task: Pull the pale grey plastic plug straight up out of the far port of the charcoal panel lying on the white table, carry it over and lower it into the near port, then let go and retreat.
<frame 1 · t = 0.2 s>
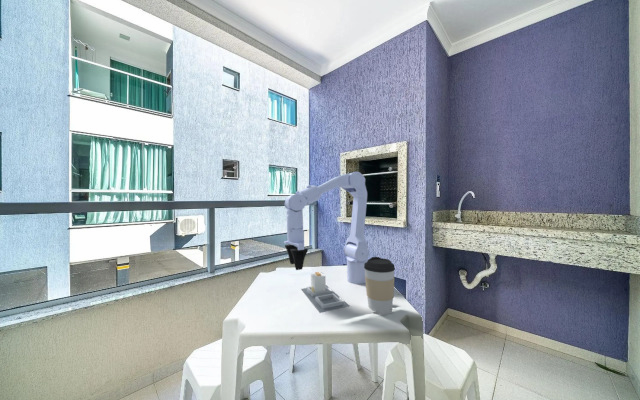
hand: (296, 266, 79), 10 cm above the table, tool pointing down, fingers open, 7 cm apart
panel: (323, 299, 74), on the table
plug: (318, 291, 78), point 1 cm above the table, touching panel
coffee cup: (380, 310, 66), on the table
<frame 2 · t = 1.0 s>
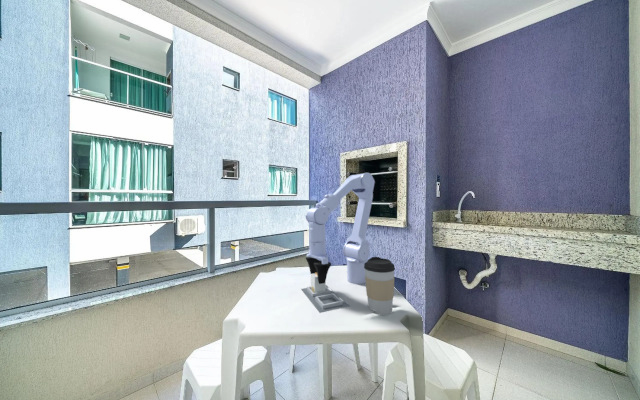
hand: (317, 279, 78), 5 cm above the table, tool pointing down, fingers open, 7 cm apart
nothing on the table moved.
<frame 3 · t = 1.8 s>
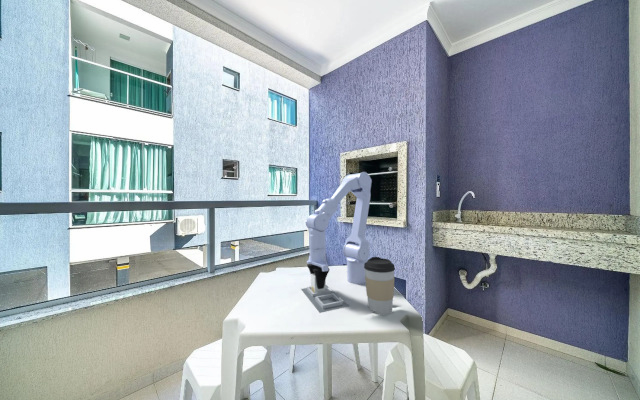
hand: (318, 286, 78), 3 cm above the table, tool pointing down, fingers closed on plug, 4 cm apart
plug: (318, 291, 78), point 1 cm above the table, touching gripper, panel
everything else where it was.
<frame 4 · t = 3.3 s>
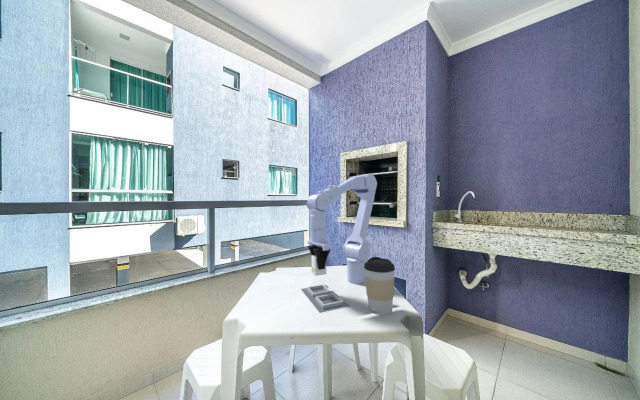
hand: (319, 267, 77), 10 cm above the table, tool pointing down, fingers closed on plug, 4 cm apart
plug: (318, 273, 77), point 8 cm above the table, touching gripper
everything else where it was.
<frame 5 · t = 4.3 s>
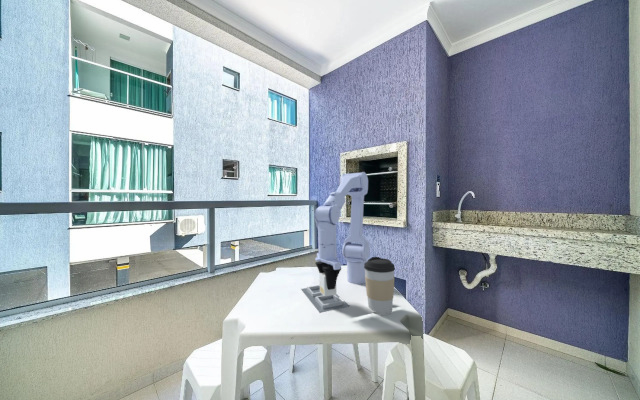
hand: (328, 286, 70), 6 cm above the table, tool pointing down, fingers closed on plug, 4 cm apart
plug: (328, 293, 70), point 4 cm above the table, touching gripper
everything else where it was.
when the fingers open (4 cm above the table, at t = 5.1 s): plug stays where it is, resting on panel.
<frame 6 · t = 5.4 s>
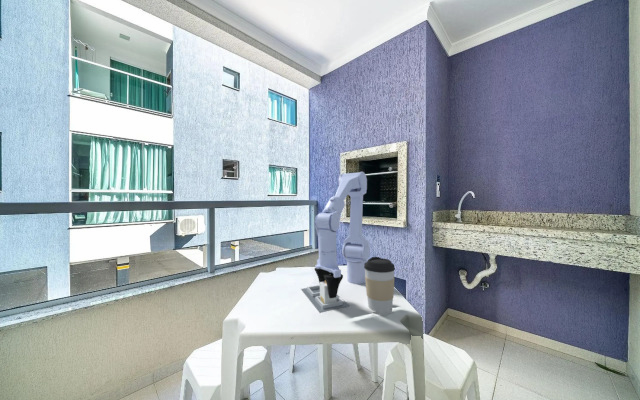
hand: (328, 293, 70), 4 cm above the table, tool pointing down, fingers open, 6 cm apart
plug: (328, 302, 70), point 1 cm above the table, touching panel
everything else where it was.
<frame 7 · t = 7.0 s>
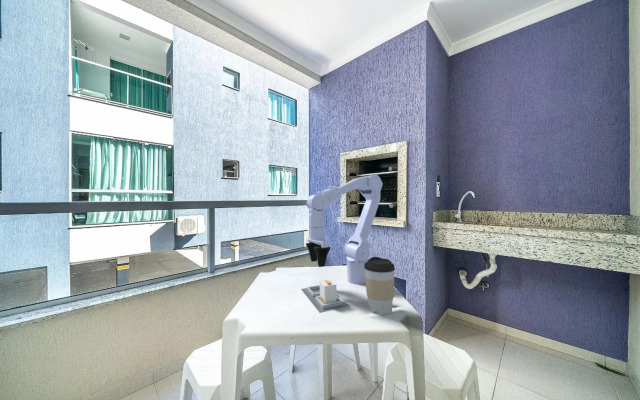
hand: (317, 263, 81), 10 cm above the table, tool pointing down, fingers open, 7 cm apart
nothing on the table moved.
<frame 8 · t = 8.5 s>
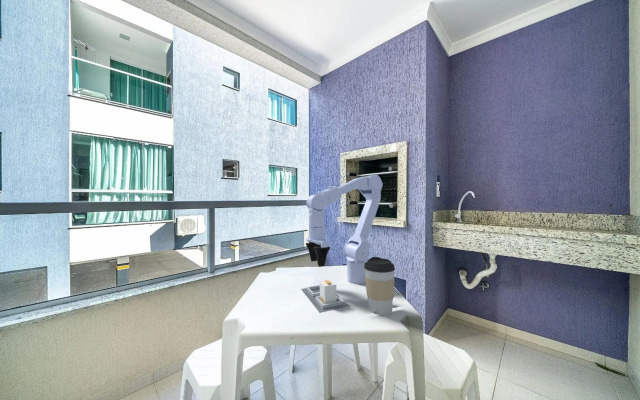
hand: (317, 263, 82), 10 cm above the table, tool pointing down, fingers open, 7 cm apart
nothing on the table moved.
at the end: plug 0.1 cm from the target spot on the panel, point 0.8 cm above the panel's base; plug tilted 0°; the gripper is holding nothing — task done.
